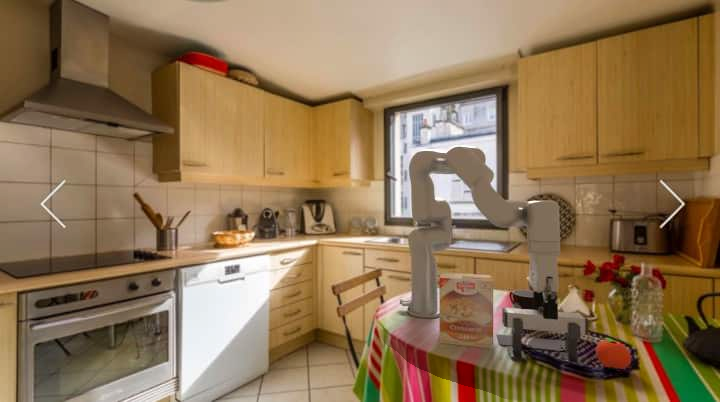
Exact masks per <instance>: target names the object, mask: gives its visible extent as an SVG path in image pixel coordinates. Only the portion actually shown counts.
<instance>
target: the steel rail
mask: <svg viewBox="0 0 720 402" xmlns="http://www.w3.org/2000/svg"><path fill="white" fill-rule="evenodd" d="M501 309H502V315H501V317H502V319H501V320H502V321H501V322H502V324H503V326H504V327H505V328H509V329H512V328H514V320H522V321H523V330H528V331H529V330H532V331H542V332H553V333H562V334H563V333H564V334H565V333H570V325H579V326H580V335H583V336H584V335H589V318H588V317H586V316H585V315H584V314H583V313H579V312H566V311H558V319H557V320H555V319H544V318H543V309H541V310H540V309H539V310H529V309H516V308H514V307H502V308H501Z"/></svg>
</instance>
